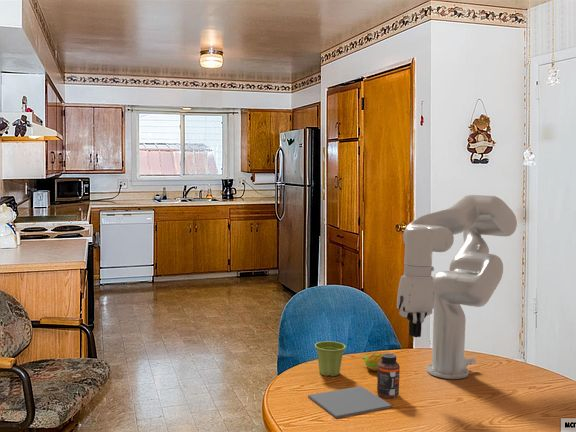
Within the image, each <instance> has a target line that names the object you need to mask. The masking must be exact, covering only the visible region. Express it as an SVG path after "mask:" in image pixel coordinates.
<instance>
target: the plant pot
mask: <svg viewBox="0 0 576 432" xmlns="http://www.w3.org/2000/svg"><path fill="white" fill-rule="evenodd" d="M346 346H347V345H346V344H345V343H341V342H338V341H330V340H329V341H328V340H327V341H326V340H325V341H324V340H323V341H319V342H316V343H315V344H314V347H315V350H316V354H317V362H318V370H319V371H318V372H319V374H320V375H322V376H325V377H328V376H331V377H335V376H338V375H340V370H341V367H342V360H343V356H344V352H345V350H346V348H347V347H346Z"/></svg>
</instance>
